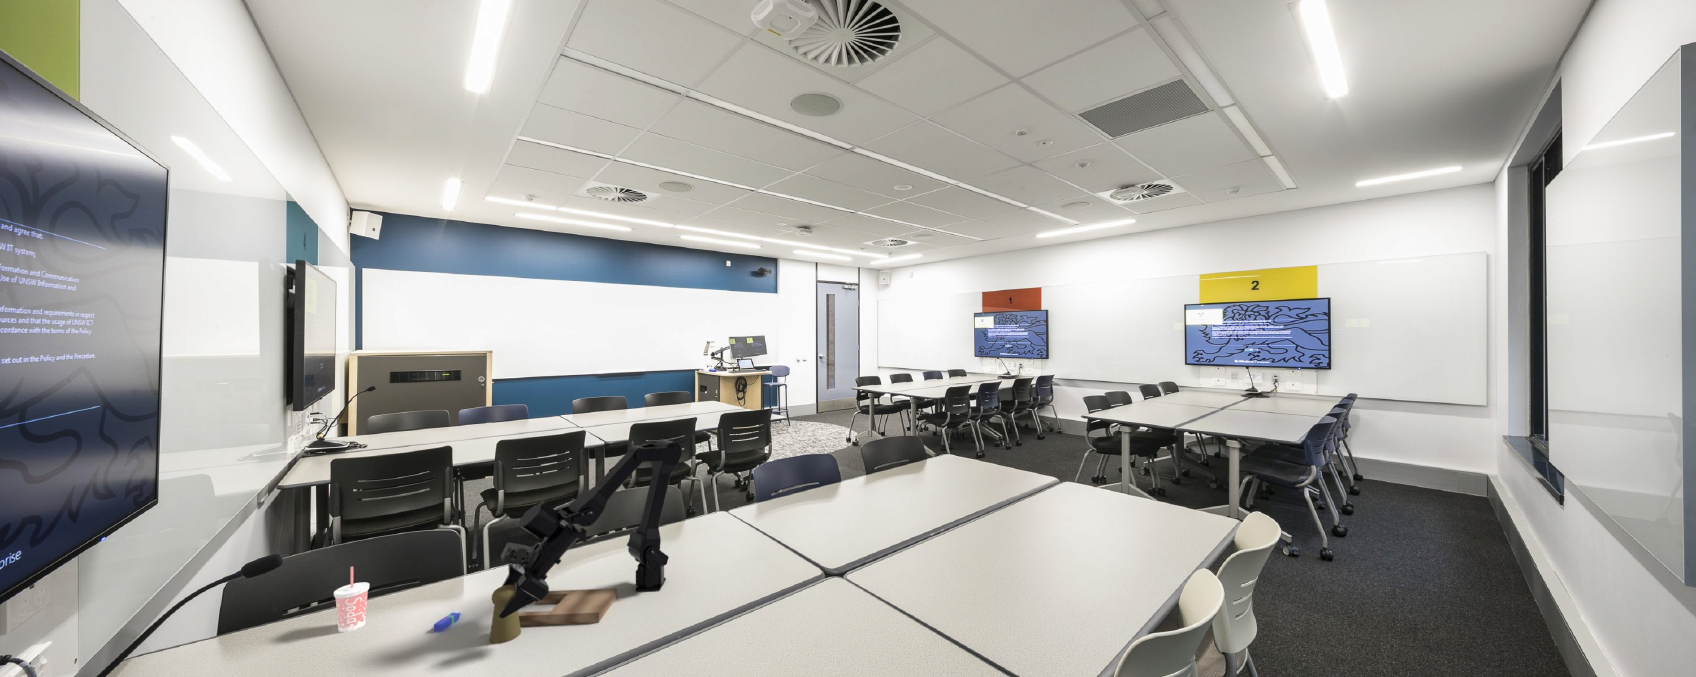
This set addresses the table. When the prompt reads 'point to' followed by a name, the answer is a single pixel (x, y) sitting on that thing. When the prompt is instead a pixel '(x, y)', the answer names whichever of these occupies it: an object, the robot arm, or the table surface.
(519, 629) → the cork
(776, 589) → the table surface
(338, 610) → the beverage cup
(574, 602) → the notched board
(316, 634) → the table surface
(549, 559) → the robot arm
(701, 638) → the table surface
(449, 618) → the eraser
